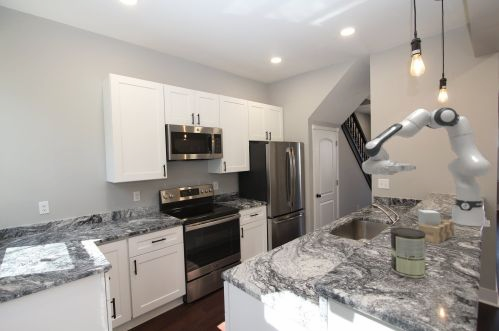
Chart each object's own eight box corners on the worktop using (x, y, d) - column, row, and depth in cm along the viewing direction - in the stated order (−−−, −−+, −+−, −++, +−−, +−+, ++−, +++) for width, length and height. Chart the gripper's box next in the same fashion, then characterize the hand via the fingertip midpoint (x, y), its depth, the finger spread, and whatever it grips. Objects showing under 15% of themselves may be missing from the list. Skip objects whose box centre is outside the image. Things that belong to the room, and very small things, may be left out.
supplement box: (441, 238, 122) (441, 212, 122) (424, 238, 124) (423, 212, 124) (434, 234, 129) (433, 210, 129) (417, 233, 131) (417, 209, 131)
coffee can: (384, 267, 91) (383, 228, 91) (407, 264, 94) (406, 226, 94) (409, 280, 81) (408, 236, 81) (433, 275, 84) (433, 233, 84)
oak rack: (435, 231, 134) (434, 218, 134) (453, 235, 127) (453, 221, 127) (418, 239, 122) (418, 225, 121) (438, 243, 115) (438, 228, 115)
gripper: (380, 162, 146) (406, 162, 134) (396, 162, 158) (422, 161, 146) (380, 173, 146) (406, 174, 134) (396, 172, 158) (422, 172, 146)
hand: (414, 167), depth 140 cm, fingers closed
